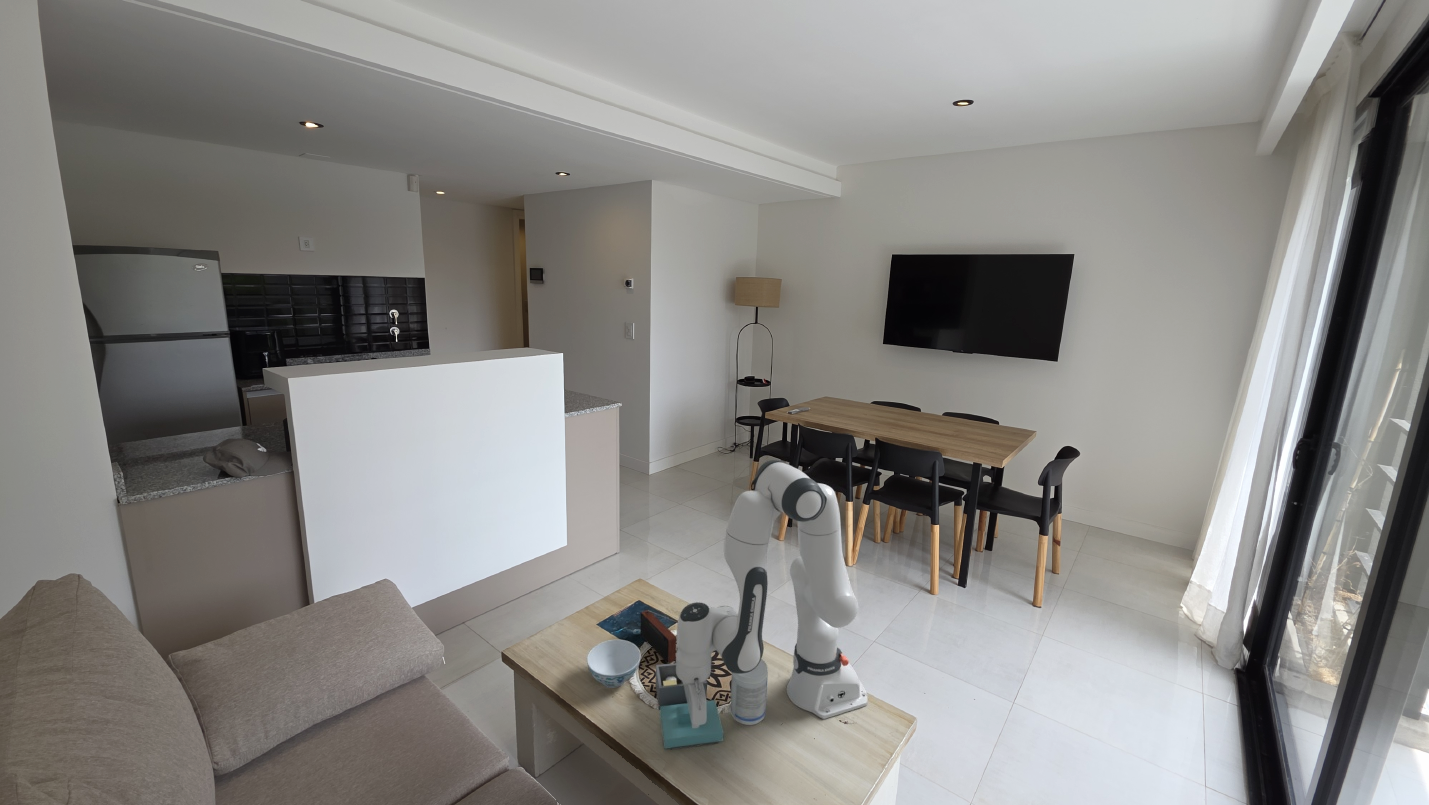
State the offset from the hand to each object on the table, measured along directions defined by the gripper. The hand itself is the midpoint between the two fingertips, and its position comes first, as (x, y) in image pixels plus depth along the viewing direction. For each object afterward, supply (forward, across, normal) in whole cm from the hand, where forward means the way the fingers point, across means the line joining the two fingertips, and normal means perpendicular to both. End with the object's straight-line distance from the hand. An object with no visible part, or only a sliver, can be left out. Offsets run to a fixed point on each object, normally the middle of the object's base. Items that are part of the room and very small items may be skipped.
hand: (692, 711), depth 146 cm
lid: (+5, 0, 0) cm, 5 cm away
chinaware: (+6, +21, +19) cm, 29 cm away
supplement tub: (+6, +3, -16) cm, 17 cm away
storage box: (+5, +12, +1) cm, 13 cm away
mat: (+5, 0, 0) cm, 5 cm away
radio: (+6, +32, +5) cm, 33 cm away
